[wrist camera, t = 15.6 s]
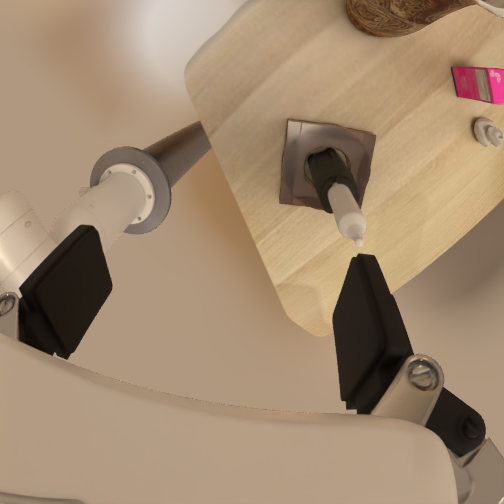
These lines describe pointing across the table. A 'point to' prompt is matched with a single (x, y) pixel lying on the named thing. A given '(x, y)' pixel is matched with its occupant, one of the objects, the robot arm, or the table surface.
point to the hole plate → (310, 138)
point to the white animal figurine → (487, 132)
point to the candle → (338, 193)
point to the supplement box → (479, 83)
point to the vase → (408, 14)
